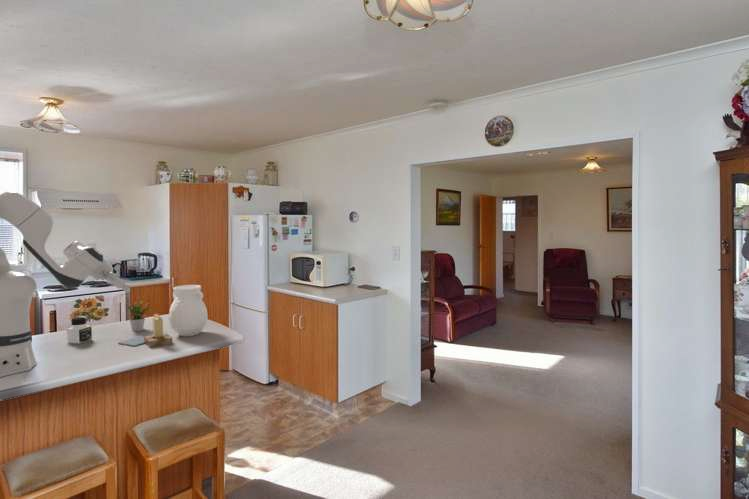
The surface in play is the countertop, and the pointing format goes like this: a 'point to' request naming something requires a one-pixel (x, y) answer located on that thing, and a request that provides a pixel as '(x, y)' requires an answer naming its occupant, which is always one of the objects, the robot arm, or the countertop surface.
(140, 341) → the slate mat
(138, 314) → the house plant
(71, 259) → the robot arm
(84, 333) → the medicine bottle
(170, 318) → the white vase
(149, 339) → the socket block
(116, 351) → the countertop surface
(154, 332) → the t key
